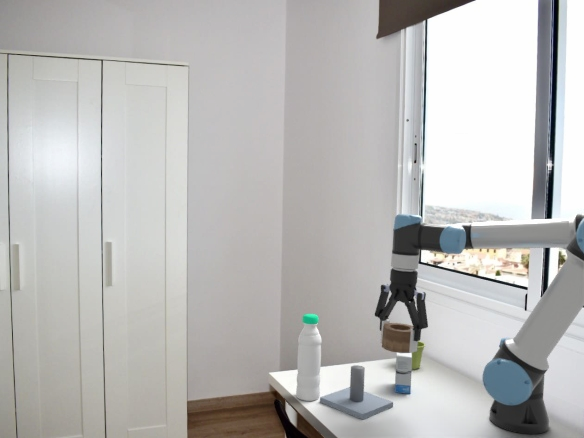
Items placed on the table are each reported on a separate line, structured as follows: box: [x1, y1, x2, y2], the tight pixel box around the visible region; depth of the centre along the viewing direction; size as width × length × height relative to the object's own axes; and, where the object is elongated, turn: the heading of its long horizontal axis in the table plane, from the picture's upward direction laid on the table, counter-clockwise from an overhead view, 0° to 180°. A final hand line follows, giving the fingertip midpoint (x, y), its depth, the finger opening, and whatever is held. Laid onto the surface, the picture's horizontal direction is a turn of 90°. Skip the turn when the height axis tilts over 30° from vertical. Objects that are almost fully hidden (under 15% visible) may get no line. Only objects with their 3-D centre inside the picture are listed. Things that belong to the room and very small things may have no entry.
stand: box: [319, 364, 394, 420], centre depth 160 cm, size 16×14×11 cm
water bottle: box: [295, 313, 322, 402], centre depth 165 cm, size 7×7×25 cm
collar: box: [381, 322, 414, 354], centre depth 156 cm, size 9×9×6 cm
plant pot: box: [412, 340, 426, 370], centre depth 198 cm, size 9×9×9 cm
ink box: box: [394, 352, 413, 395], centre depth 175 cm, size 8×5×12 cm, turn 168°
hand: (398, 347), depth 156 cm, fingers closed on collar, 9 cm apart
